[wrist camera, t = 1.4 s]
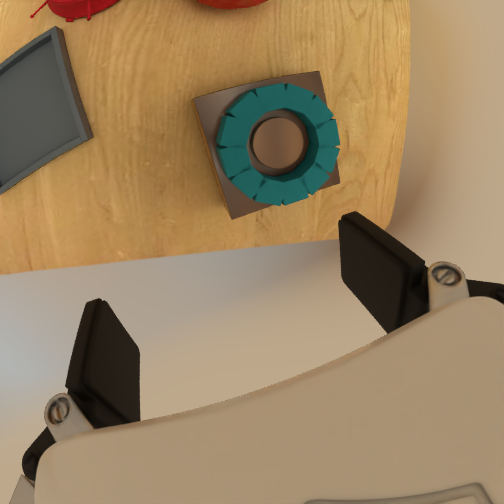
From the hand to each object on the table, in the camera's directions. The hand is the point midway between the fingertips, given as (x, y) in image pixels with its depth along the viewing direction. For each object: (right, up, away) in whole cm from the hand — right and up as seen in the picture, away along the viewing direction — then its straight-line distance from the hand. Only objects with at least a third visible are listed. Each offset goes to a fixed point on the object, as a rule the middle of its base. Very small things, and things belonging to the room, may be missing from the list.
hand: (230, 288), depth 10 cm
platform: (+2, +13, +17) cm, 22 cm away
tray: (-23, +16, +8) cm, 29 cm away
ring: (+3, +11, +14) cm, 18 cm away
